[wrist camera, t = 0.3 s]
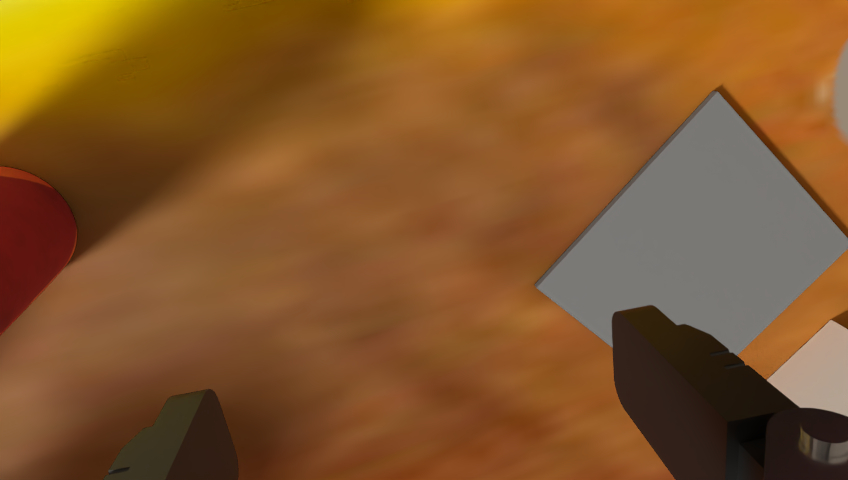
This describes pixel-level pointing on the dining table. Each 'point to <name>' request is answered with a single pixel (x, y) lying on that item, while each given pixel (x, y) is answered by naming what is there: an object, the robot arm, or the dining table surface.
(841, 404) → the cream rectangular box
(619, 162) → the dining table surface
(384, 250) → the dining table surface
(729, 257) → the mat
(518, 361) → the dining table surface
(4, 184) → the coffee cup
